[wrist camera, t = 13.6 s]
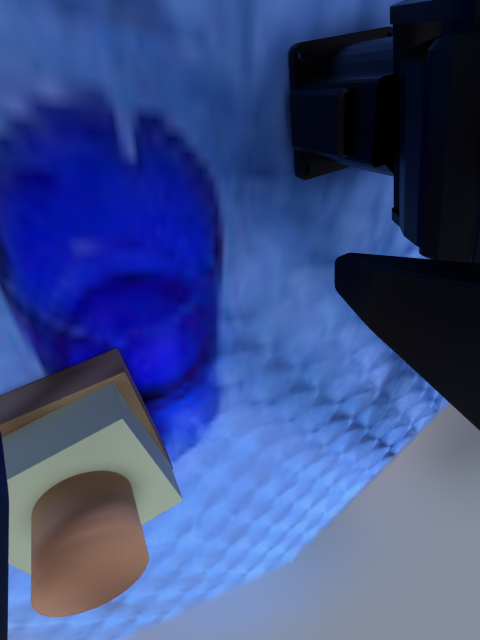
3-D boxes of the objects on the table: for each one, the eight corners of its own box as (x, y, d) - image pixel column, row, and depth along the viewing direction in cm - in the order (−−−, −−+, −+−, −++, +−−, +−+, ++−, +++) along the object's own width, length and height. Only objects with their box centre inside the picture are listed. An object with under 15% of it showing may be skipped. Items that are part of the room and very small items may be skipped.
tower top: (112, 381, 20) (122, 418, 18) (170, 463, 25) (183, 500, 23) (-57, 466, 18) (-70, 521, 16) (45, 535, 24) (45, 583, 21)
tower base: (115, 343, 22) (124, 371, 20) (162, 438, 28) (173, 469, 26) (-63, 415, 20) (-76, 457, 17) (29, 503, 26) (29, 543, 23)
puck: (108, 455, 19) (123, 525, 15) (145, 500, 22) (163, 566, 18) (9, 509, 17) (4, 596, 14) (62, 548, 20) (68, 628, 17)
